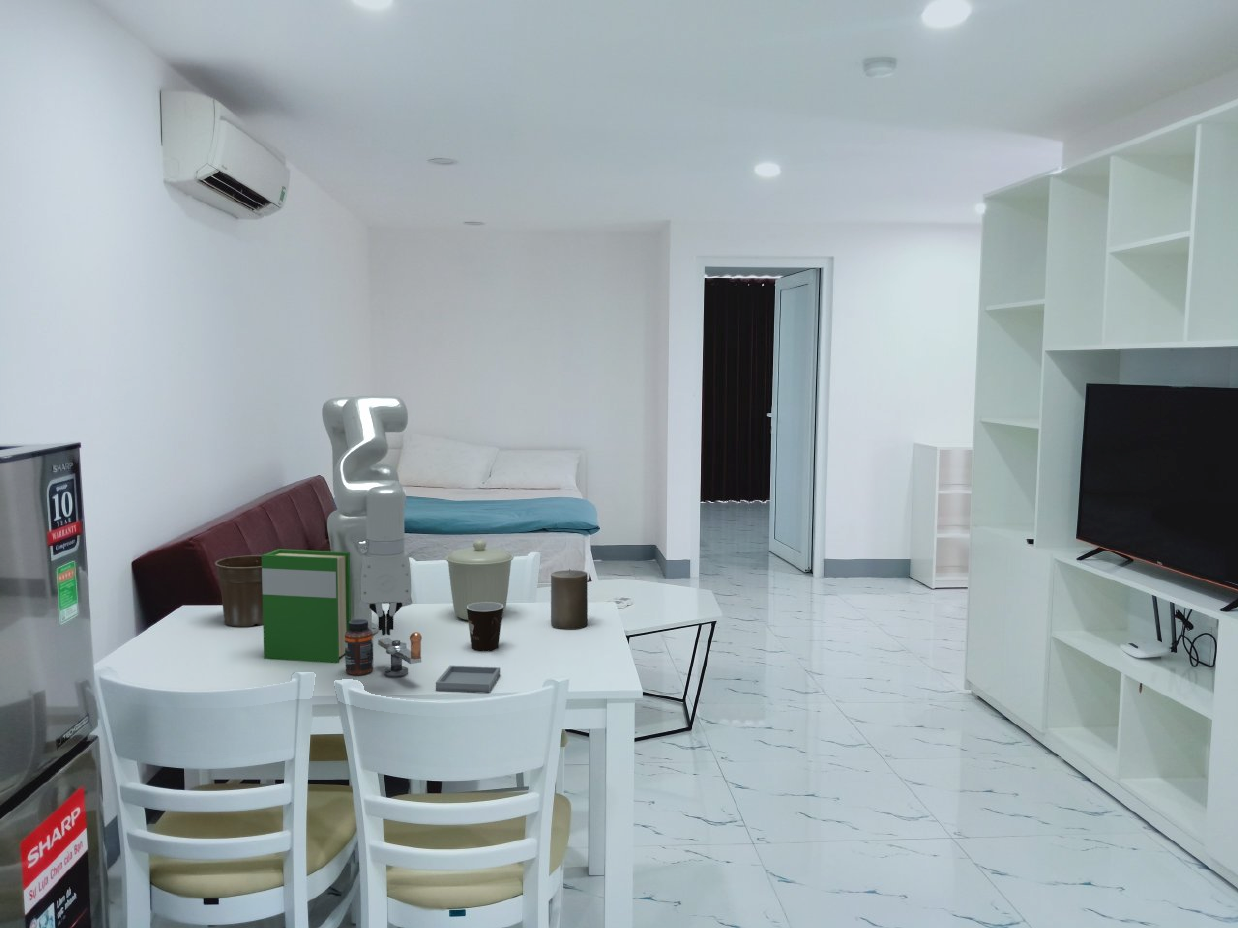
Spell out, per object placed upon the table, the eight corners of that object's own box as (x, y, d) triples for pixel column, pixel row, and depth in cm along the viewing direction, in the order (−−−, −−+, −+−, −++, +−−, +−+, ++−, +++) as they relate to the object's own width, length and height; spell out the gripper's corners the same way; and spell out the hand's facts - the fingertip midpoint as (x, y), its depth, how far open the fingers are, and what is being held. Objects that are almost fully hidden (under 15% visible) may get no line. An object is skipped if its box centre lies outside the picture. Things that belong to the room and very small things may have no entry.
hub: (381, 677, 200) (381, 656, 200) (389, 669, 205) (388, 649, 205) (404, 678, 200) (403, 657, 199) (411, 670, 205) (411, 650, 204)
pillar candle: (593, 627, 241) (594, 570, 240) (558, 631, 237) (559, 573, 236) (578, 618, 250) (579, 563, 249) (544, 622, 246) (545, 566, 245)
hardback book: (351, 653, 217) (349, 552, 214) (337, 663, 209) (335, 558, 207) (280, 649, 219) (278, 549, 217) (264, 658, 212) (261, 555, 210)
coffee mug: (468, 642, 227) (468, 602, 226) (503, 642, 227) (503, 601, 226) (464, 657, 215) (464, 614, 214) (501, 656, 216) (501, 614, 215)
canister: (515, 608, 260) (516, 533, 258) (510, 625, 242) (510, 546, 240) (450, 608, 259) (450, 533, 257) (440, 625, 241) (440, 545, 239)
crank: (373, 645, 206) (373, 616, 206) (392, 642, 209) (392, 613, 208) (408, 666, 192) (408, 635, 191) (428, 662, 195) (428, 632, 194)
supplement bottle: (379, 669, 206) (378, 619, 205) (363, 677, 200) (362, 625, 199) (356, 665, 208) (355, 616, 207) (339, 674, 202) (338, 623, 201)
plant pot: (291, 613, 252) (290, 554, 250) (271, 629, 235) (269, 567, 234) (231, 613, 251) (229, 554, 249) (206, 629, 235) (204, 566, 233)
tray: (435, 690, 192) (435, 682, 192) (449, 673, 203) (449, 665, 203) (489, 692, 191) (489, 684, 191) (500, 675, 202) (500, 667, 202)
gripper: (347, 552, 185) (348, 641, 187) (424, 549, 189) (423, 636, 191) (347, 543, 192) (348, 629, 194) (421, 541, 196) (421, 625, 198)
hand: (385, 633), depth 193 cm, fingers closed
